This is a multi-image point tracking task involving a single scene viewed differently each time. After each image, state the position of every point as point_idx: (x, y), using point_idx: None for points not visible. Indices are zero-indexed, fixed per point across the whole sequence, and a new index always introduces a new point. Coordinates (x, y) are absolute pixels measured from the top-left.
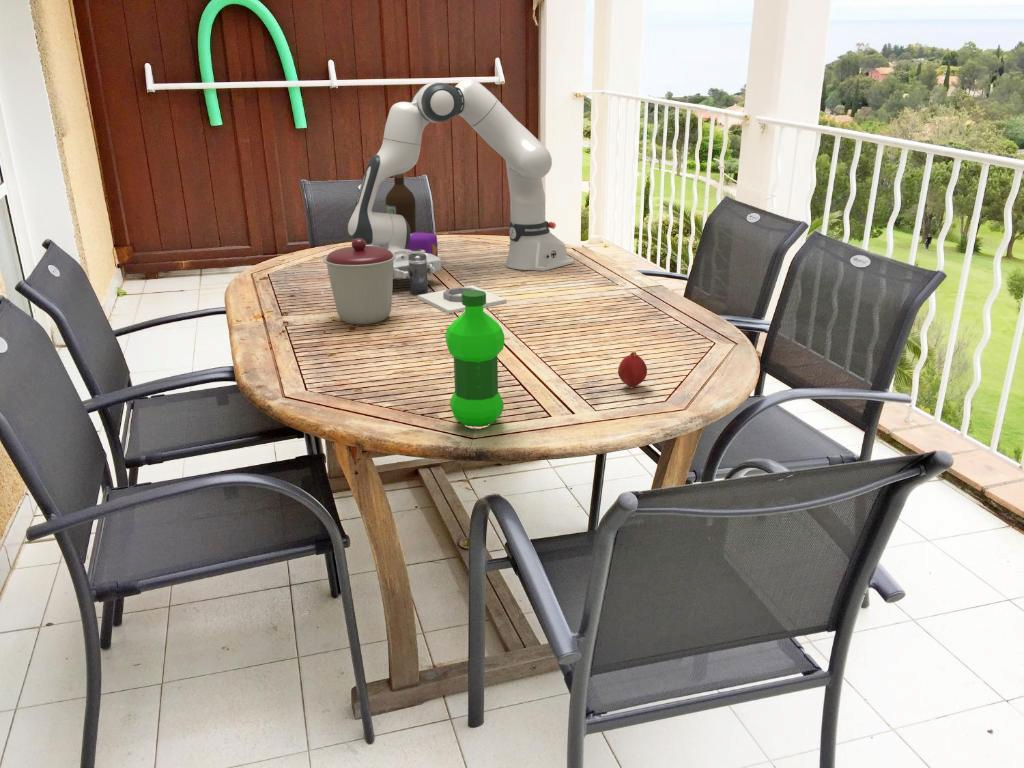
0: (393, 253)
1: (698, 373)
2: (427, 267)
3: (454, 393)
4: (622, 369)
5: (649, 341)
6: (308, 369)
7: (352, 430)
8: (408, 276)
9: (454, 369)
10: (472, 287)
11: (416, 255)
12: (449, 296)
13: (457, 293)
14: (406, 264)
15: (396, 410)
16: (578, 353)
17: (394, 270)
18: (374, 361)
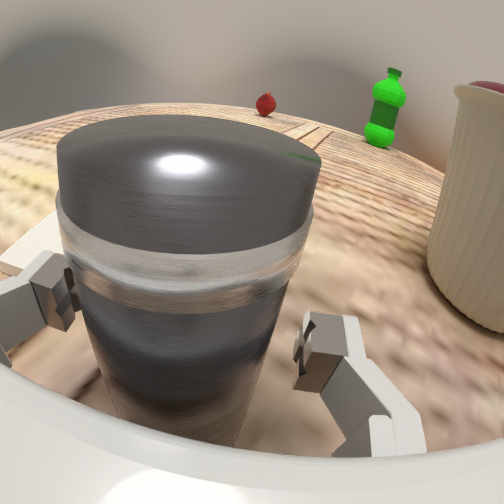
0: (464, 85)
1: (210, 107)
2: (53, 290)
3: (393, 131)
4: (275, 103)
5: (169, 113)
6: None
7: (444, 174)
8: (301, 334)
9: (396, 116)
10: (25, 247)
11: (201, 136)
12: None
13: None
14: (207, 458)
15: (420, 167)
16: None
17: (417, 435)
18: None
